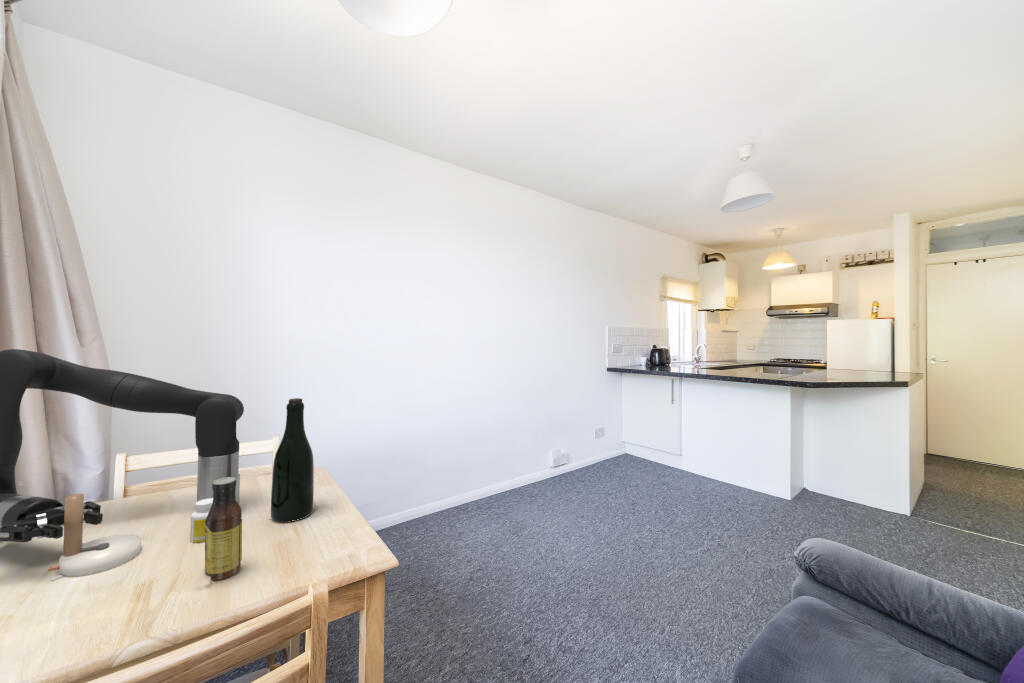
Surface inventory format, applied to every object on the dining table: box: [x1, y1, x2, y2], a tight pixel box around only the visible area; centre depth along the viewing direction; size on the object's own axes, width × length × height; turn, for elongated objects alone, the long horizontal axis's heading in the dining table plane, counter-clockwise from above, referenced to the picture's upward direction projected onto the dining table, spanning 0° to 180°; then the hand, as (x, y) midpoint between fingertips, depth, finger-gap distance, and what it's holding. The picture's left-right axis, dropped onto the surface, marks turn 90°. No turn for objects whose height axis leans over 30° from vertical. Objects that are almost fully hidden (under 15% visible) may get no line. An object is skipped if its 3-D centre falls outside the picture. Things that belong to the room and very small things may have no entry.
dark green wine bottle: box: [270, 397, 315, 523], centre depth 107 cm, size 10×10×33 cm
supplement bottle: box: [189, 498, 213, 544], centre depth 92 cm, size 5×5×10 cm
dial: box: [58, 493, 142, 578], centre depth 82 cm, size 12×12×14 cm
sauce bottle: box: [204, 477, 243, 581], centre depth 80 cm, size 7×6×20 cm
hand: (80, 525), depth 79 cm, fingers open, 5 cm apart
